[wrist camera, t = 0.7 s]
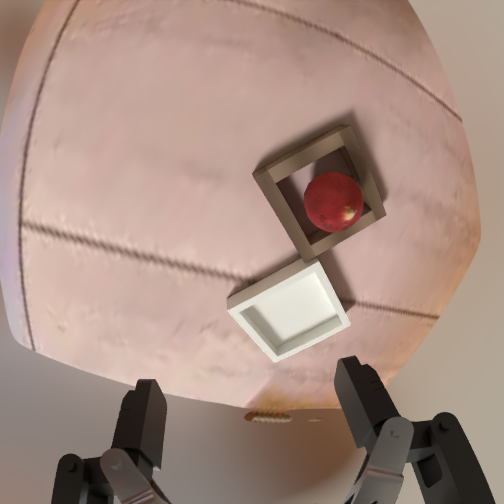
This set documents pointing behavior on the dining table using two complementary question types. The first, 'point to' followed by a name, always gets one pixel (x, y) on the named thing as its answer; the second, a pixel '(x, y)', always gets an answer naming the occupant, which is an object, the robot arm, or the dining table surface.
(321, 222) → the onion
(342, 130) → the frame
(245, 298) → the tray
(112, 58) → the dining table surface
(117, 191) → the dining table surface
